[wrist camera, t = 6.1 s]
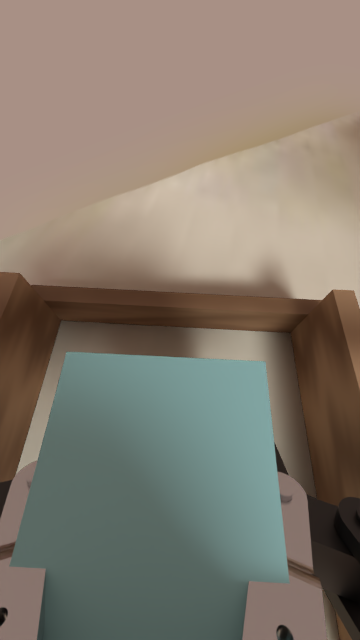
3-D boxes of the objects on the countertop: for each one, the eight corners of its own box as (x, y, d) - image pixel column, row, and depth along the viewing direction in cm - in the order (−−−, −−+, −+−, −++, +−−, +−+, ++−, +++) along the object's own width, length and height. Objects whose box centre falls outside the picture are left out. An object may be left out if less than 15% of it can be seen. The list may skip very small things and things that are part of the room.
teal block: (212, 514, 14) (298, 662, 4) (120, 508, 14) (-12, 642, 4) (211, 416, 16) (265, 361, 6) (133, 412, 16) (66, 351, 6)
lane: (374, 692, 12) (541, 894, 6) (-67, 663, 12) (-265, 838, 7) (303, 319, 20) (348, 273, 15) (50, 306, 21) (6, 255, 15)
